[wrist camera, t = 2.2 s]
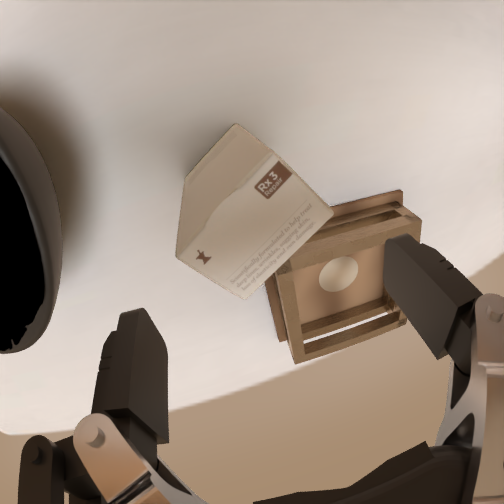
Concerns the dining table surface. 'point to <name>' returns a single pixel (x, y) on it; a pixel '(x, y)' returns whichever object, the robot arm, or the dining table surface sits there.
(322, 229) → the shallow wooden tray
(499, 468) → the robot arm
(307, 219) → the skincare box
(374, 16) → the dining table surface
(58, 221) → the bowl of black rocks
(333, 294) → the walnut board
